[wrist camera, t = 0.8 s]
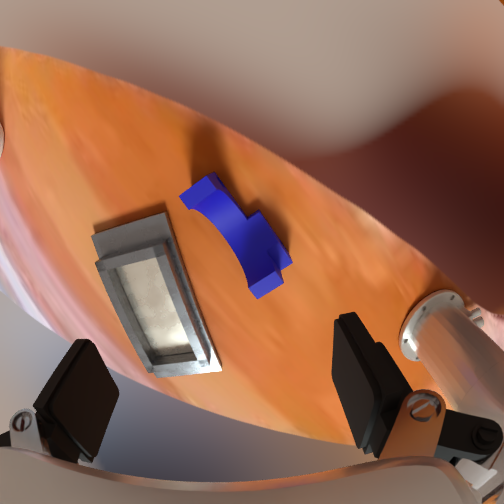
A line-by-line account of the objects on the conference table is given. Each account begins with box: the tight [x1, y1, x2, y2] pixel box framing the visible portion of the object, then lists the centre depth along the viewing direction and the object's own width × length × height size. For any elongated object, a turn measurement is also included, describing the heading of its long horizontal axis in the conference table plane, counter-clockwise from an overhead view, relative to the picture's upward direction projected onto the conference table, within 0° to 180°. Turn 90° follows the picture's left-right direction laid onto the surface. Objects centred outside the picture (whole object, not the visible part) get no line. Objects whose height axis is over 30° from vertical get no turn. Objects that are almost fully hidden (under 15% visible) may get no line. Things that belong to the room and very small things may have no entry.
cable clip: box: [179, 172, 293, 299], centre depth 28 cm, size 12×4×6 cm, turn 34°
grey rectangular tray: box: [91, 211, 222, 378], centre depth 32 cm, size 10×22×3 cm, turn 13°
